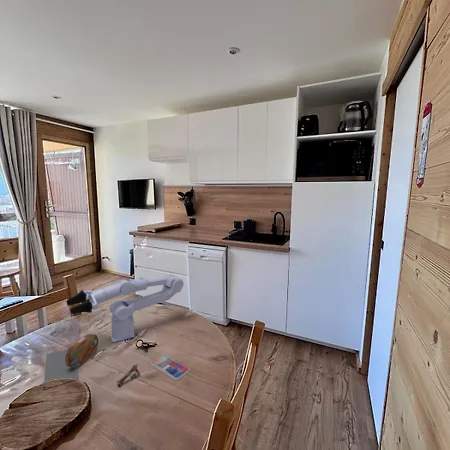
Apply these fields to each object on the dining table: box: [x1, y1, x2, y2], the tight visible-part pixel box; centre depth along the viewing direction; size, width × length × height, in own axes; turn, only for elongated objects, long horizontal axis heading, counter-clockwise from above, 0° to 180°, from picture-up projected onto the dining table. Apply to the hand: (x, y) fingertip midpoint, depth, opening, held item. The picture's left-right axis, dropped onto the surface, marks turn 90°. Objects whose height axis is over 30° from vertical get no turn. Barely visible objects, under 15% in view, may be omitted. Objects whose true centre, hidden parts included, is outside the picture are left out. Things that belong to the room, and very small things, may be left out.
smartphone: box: [150, 354, 191, 381], centre depth 99 cm, size 7×1×15 cm
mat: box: [43, 348, 79, 383], centre depth 98 cm, size 10×22×1 cm, turn 32°
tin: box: [65, 333, 99, 369], centre depth 101 cm, size 15×3×8 cm, turn 169°
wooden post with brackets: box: [116, 363, 141, 387], centre depth 91 cm, size 2×8×4 cm, turn 140°
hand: (68, 307), depth 104 cm, fingers open, 7 cm apart
